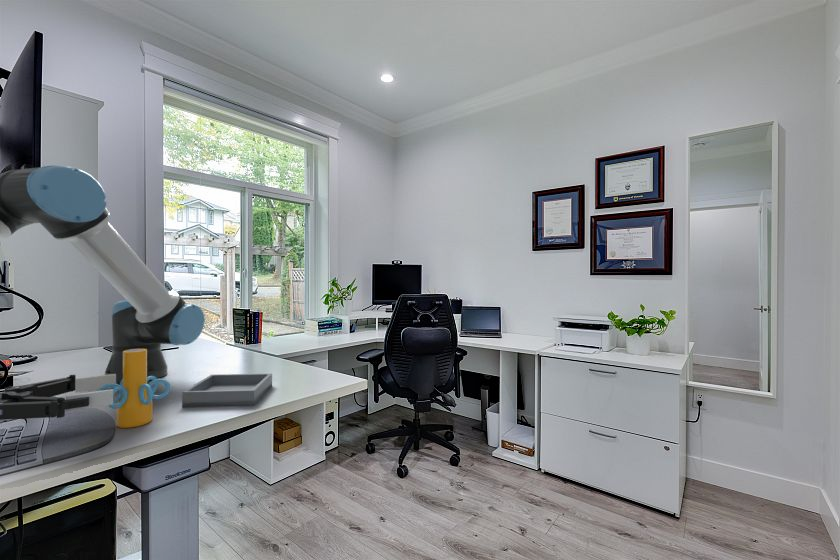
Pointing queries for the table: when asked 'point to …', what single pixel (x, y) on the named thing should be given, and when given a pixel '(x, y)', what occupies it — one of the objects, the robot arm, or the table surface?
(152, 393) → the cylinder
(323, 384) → the table surface
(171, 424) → the table surface
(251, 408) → the table surface
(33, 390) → the robot arm
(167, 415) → the table surface
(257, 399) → the tray
